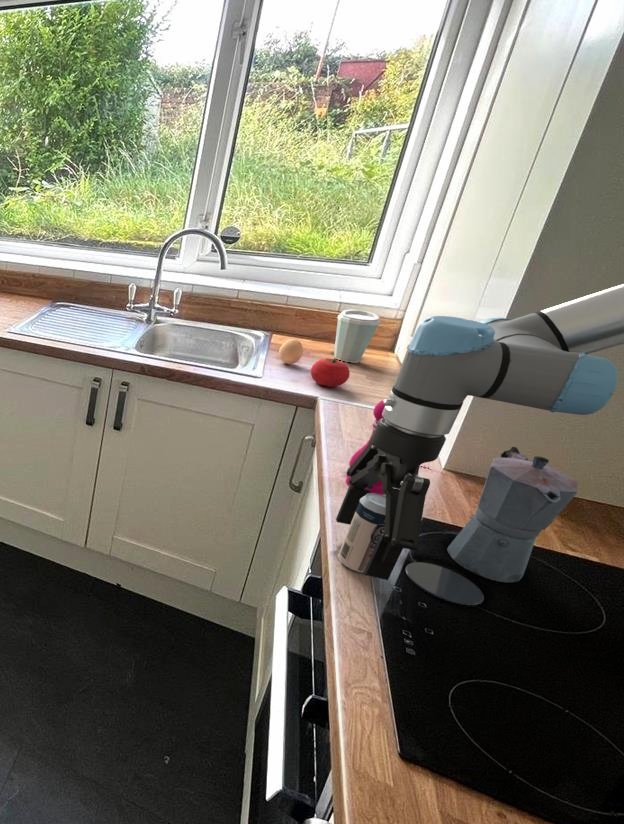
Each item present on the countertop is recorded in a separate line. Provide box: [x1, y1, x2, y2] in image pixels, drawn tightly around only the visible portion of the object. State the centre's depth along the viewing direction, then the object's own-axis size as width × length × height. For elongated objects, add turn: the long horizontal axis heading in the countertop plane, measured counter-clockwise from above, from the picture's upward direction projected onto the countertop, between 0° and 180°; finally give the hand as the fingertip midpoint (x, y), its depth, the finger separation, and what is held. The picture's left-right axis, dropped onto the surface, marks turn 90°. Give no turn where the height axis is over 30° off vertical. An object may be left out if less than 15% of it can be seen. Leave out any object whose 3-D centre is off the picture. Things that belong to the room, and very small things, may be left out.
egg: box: [278, 338, 304, 365], centre depth 175 cm, size 6×6×8 cm
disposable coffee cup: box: [333, 309, 382, 364], centre depth 179 cm, size 11×11×15 cm
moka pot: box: [446, 446, 578, 584], centre depth 89 cm, size 10×15×20 cm, turn 159°
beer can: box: [337, 493, 386, 574], centre depth 89 cm, size 5×5×12 cm
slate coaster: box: [404, 561, 485, 607], centre depth 87 cm, size 9×9×1 cm
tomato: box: [310, 357, 351, 388], centre depth 160 cm, size 9×9×8 cm
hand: (359, 547), depth 90 cm, fingers open, 13 cm apart
